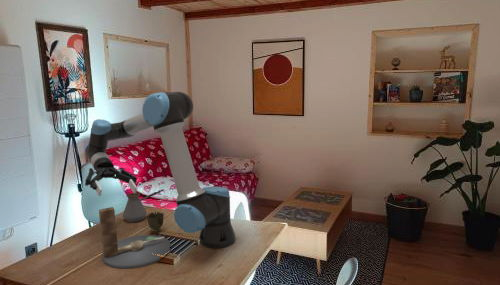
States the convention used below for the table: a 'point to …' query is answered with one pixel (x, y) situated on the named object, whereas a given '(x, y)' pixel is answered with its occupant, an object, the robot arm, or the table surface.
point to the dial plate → (138, 252)
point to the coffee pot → (136, 207)
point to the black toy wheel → (155, 221)
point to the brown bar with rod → (115, 235)
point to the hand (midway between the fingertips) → (118, 191)
